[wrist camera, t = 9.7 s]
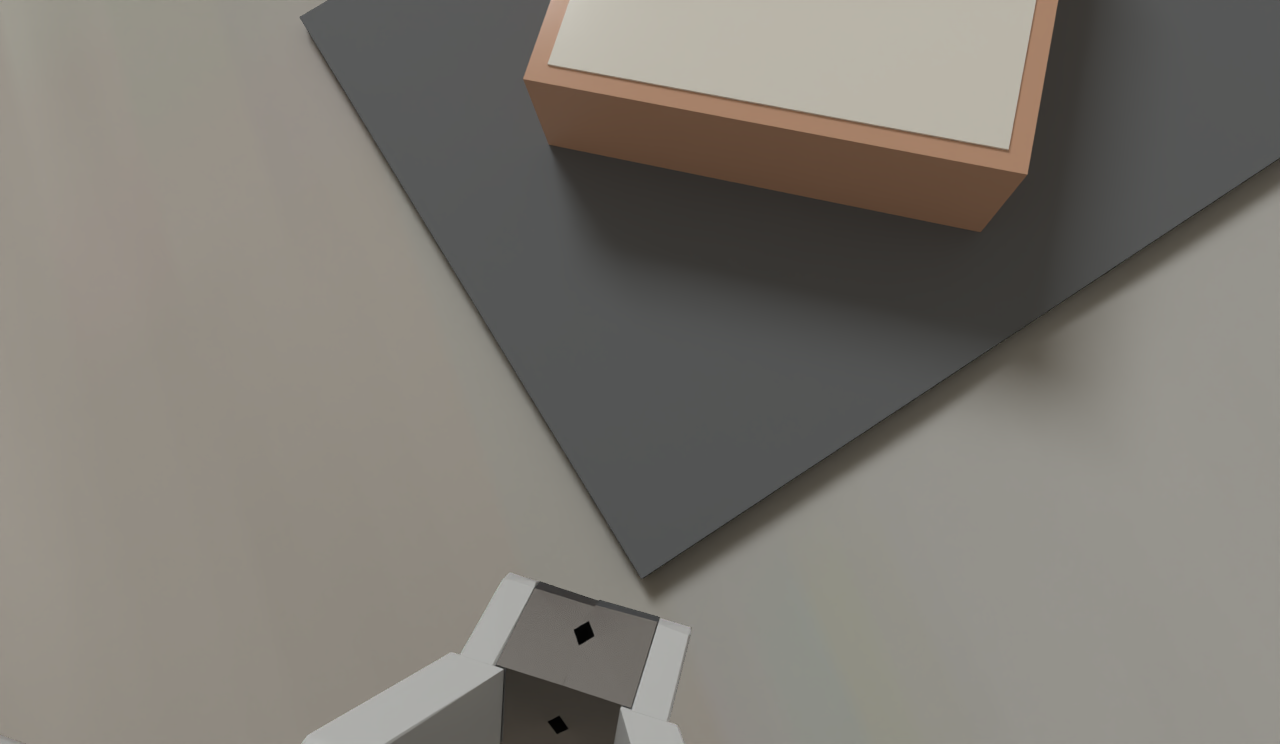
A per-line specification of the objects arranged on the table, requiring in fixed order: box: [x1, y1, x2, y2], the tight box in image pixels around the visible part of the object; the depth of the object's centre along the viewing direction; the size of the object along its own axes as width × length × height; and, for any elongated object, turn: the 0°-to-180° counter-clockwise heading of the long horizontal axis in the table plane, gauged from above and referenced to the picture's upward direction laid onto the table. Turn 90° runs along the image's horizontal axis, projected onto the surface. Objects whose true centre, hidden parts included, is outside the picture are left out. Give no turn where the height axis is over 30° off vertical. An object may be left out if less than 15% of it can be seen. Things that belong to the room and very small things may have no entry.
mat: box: [300, 0, 1280, 579], centre depth 22 cm, size 24×20×1 cm
